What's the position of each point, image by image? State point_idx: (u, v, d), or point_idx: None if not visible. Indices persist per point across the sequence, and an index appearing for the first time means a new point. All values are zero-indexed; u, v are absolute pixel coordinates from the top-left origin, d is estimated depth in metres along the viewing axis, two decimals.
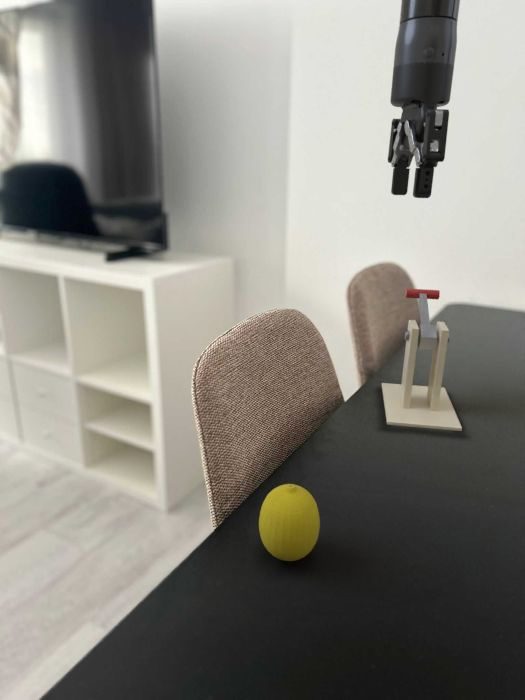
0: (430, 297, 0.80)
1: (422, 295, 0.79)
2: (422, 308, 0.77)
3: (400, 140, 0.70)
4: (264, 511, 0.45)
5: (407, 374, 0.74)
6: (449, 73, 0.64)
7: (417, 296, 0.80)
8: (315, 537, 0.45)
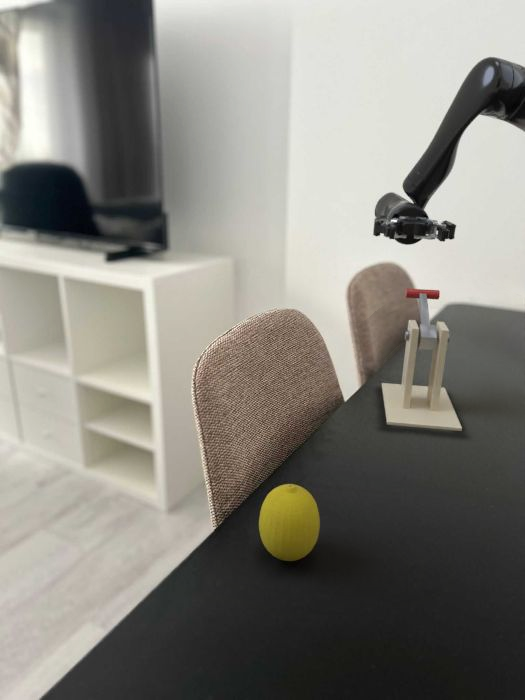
0: (430, 297, 0.80)
1: (422, 295, 0.79)
2: (422, 308, 0.77)
3: (421, 236, 0.95)
4: (264, 511, 0.45)
5: (407, 374, 0.74)
6: (393, 210, 1.01)
7: (417, 296, 0.80)
8: (315, 537, 0.45)
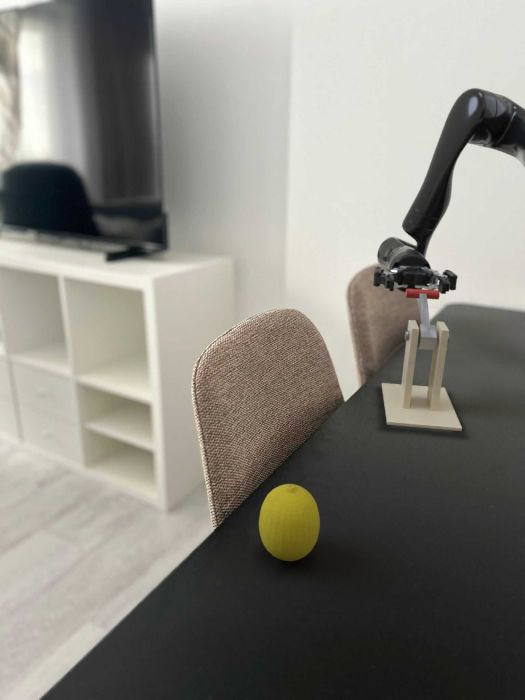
0: (430, 297, 0.80)
1: (422, 295, 0.79)
2: (422, 308, 0.77)
3: (422, 286, 0.93)
4: (264, 511, 0.45)
5: (407, 374, 0.74)
6: (394, 258, 0.99)
7: (417, 296, 0.80)
8: (315, 537, 0.45)
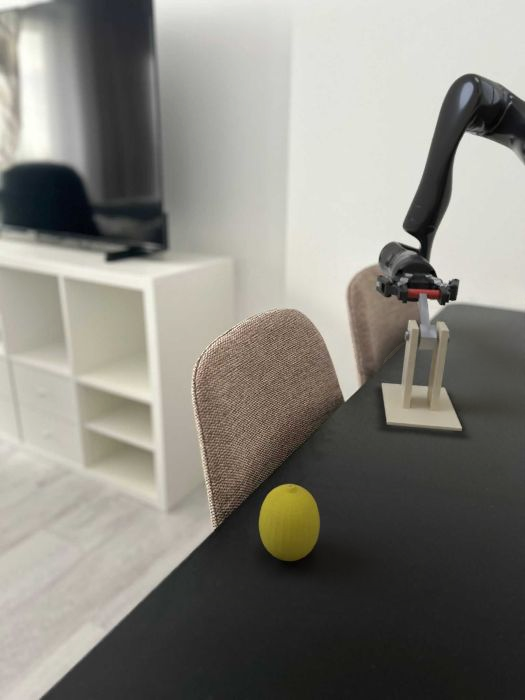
0: (430, 297, 0.80)
1: (422, 295, 0.79)
2: (422, 308, 0.77)
3: None
4: (264, 511, 0.45)
5: (407, 374, 0.74)
6: (397, 264, 0.92)
7: (417, 296, 0.80)
8: (315, 537, 0.45)
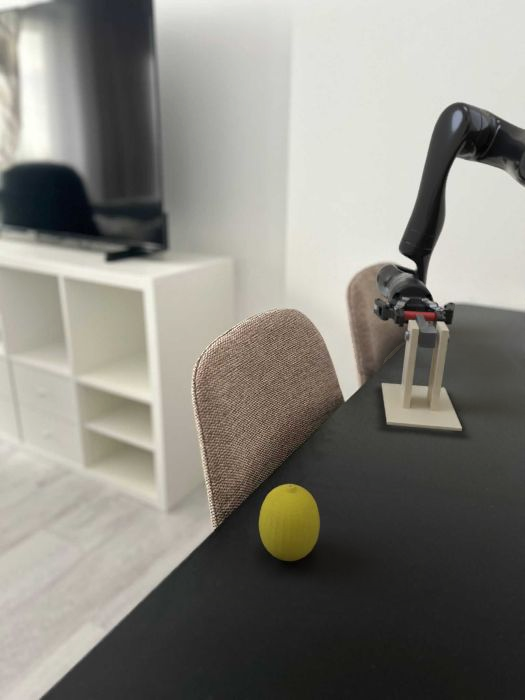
0: (426, 318, 0.82)
1: (419, 315, 0.81)
2: (420, 321, 0.79)
3: None
4: (264, 511, 0.45)
5: (407, 374, 0.74)
6: (395, 287, 0.95)
7: (414, 317, 0.82)
8: (315, 537, 0.45)
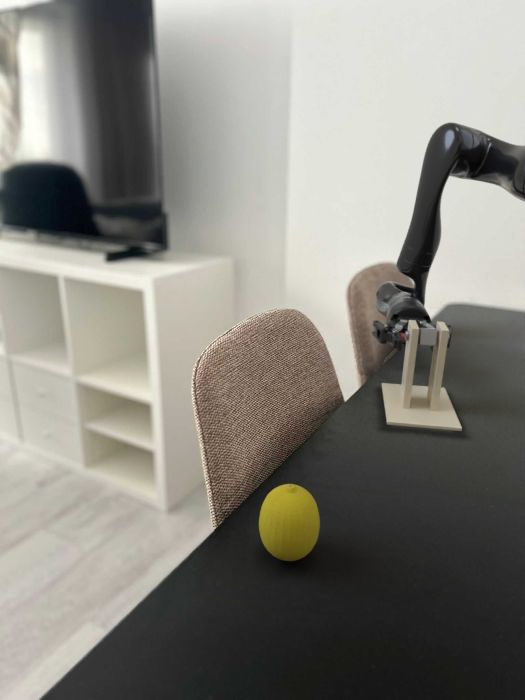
0: None
1: None
2: None
3: None
4: (264, 511, 0.45)
5: (407, 374, 0.74)
6: (393, 308, 0.95)
7: None
8: (315, 537, 0.45)
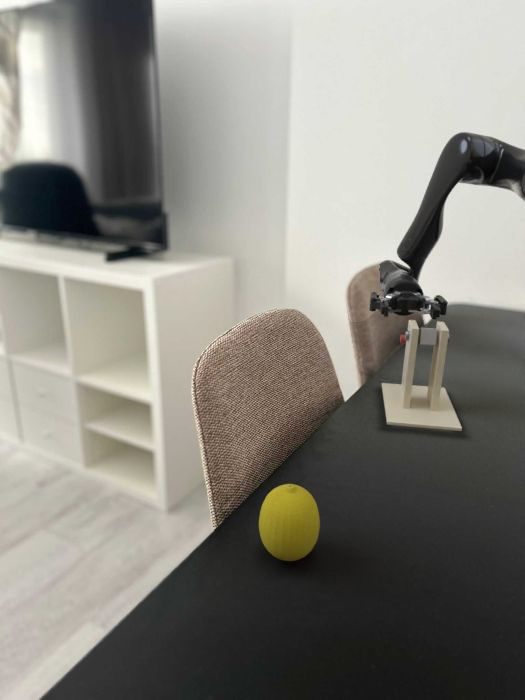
0: None
1: None
2: None
3: (415, 311, 1.00)
4: (264, 511, 0.45)
5: (407, 374, 0.74)
6: (389, 283, 1.06)
7: None
8: (315, 537, 0.45)
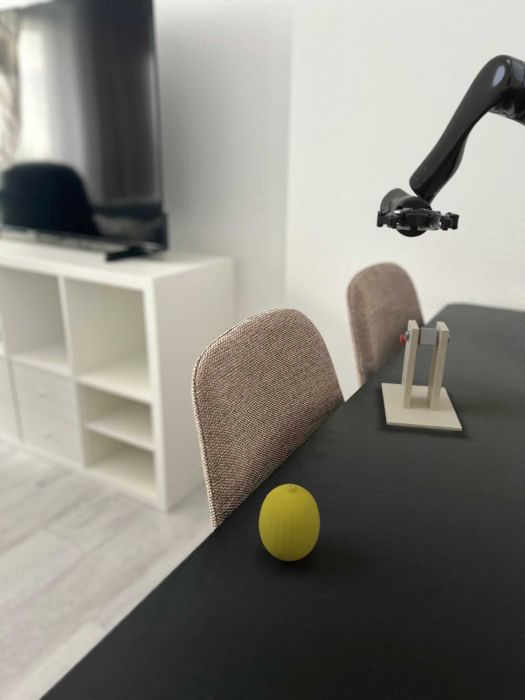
0: None
1: None
2: None
3: (425, 228, 0.95)
4: (264, 511, 0.45)
5: (407, 374, 0.74)
6: (397, 203, 1.01)
7: None
8: (315, 537, 0.45)
